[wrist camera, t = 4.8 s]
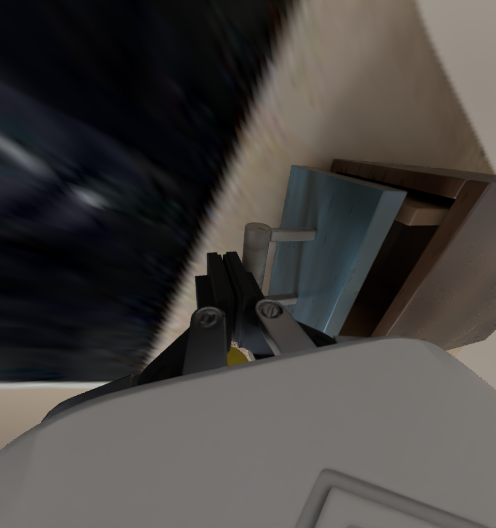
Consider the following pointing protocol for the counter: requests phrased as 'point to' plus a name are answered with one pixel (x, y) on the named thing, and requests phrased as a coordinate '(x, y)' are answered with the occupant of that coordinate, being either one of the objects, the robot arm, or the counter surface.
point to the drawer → (343, 248)
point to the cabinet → (443, 257)
